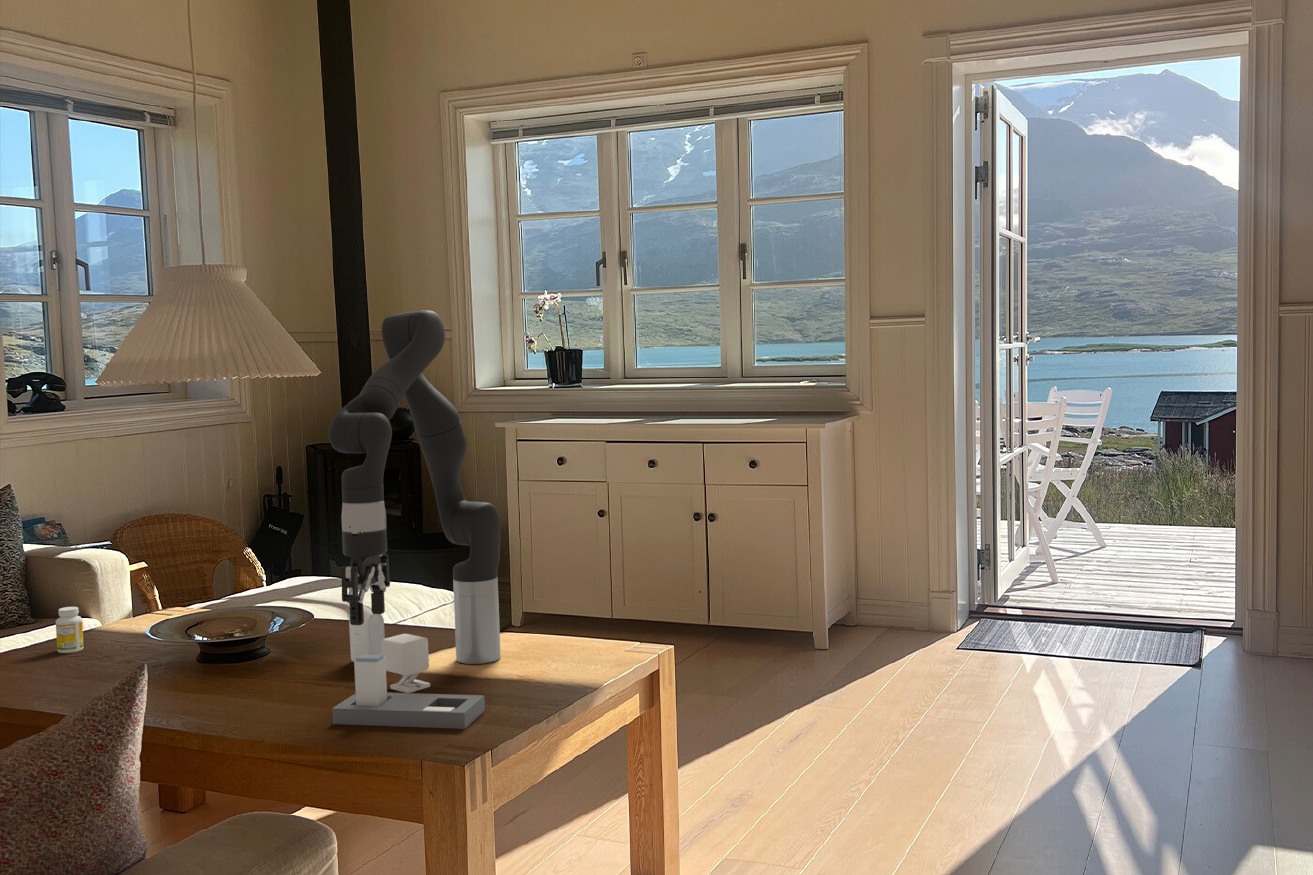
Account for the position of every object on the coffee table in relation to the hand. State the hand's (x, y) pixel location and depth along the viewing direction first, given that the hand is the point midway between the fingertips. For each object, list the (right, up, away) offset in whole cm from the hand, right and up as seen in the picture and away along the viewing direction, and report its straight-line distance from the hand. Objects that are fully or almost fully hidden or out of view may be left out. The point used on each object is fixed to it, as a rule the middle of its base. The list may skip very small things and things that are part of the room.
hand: (367, 619), depth 201 cm
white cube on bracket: (+3, -17, +19) cm, 26 cm away
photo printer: (-10, -16, +39) cm, 43 cm away
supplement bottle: (-81, -16, +57) cm, 101 cm away
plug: (0, -17, +1) cm, 17 cm away
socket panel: (+7, -18, 0) cm, 19 cm away
